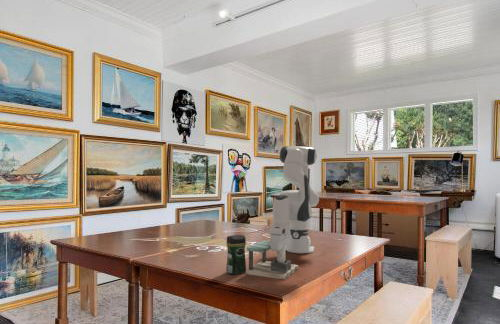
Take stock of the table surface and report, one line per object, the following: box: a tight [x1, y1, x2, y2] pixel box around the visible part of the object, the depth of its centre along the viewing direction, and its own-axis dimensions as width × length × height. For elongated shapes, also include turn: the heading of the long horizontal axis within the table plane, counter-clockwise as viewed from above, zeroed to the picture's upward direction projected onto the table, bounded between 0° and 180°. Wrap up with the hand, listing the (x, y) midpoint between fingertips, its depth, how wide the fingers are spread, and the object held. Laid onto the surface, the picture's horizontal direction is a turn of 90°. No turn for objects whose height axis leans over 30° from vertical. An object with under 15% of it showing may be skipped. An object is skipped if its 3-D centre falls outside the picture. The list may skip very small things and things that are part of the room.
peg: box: [276, 244, 286, 263], centre depth 169 cm, size 4×4×12 cm
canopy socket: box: [246, 240, 299, 281], centre depth 173 cm, size 20×20×13 cm
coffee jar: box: [225, 234, 247, 275], centre depth 171 cm, size 10×8×19 cm
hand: (281, 256), depth 169 cm, fingers closed on peg, 4 cm apart
